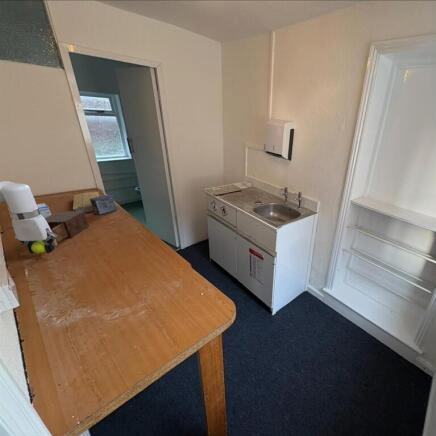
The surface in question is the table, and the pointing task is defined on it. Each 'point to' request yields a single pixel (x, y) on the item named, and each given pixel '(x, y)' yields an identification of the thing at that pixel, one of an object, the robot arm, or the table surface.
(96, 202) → the small box
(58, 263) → the table surface
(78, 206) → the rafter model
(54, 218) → the cabinet
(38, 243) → the ball
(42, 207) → the medicine box
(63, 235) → the drawer
